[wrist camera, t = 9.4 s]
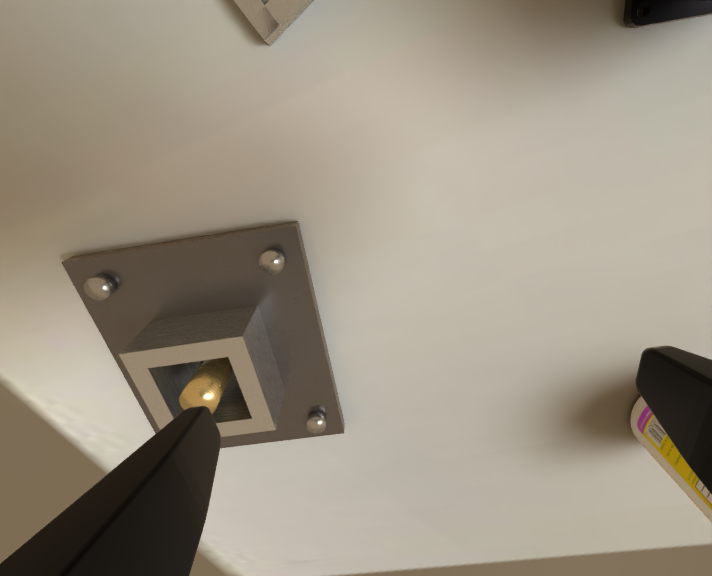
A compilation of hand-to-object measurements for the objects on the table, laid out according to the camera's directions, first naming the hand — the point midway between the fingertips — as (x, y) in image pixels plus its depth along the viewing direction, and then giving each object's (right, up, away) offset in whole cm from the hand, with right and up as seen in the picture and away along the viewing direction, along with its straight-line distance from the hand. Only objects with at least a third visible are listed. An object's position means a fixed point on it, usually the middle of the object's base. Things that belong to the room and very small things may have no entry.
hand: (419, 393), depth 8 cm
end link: (-9, -2, +13) cm, 16 cm away
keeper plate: (-9, -2, +14) cm, 17 cm away
